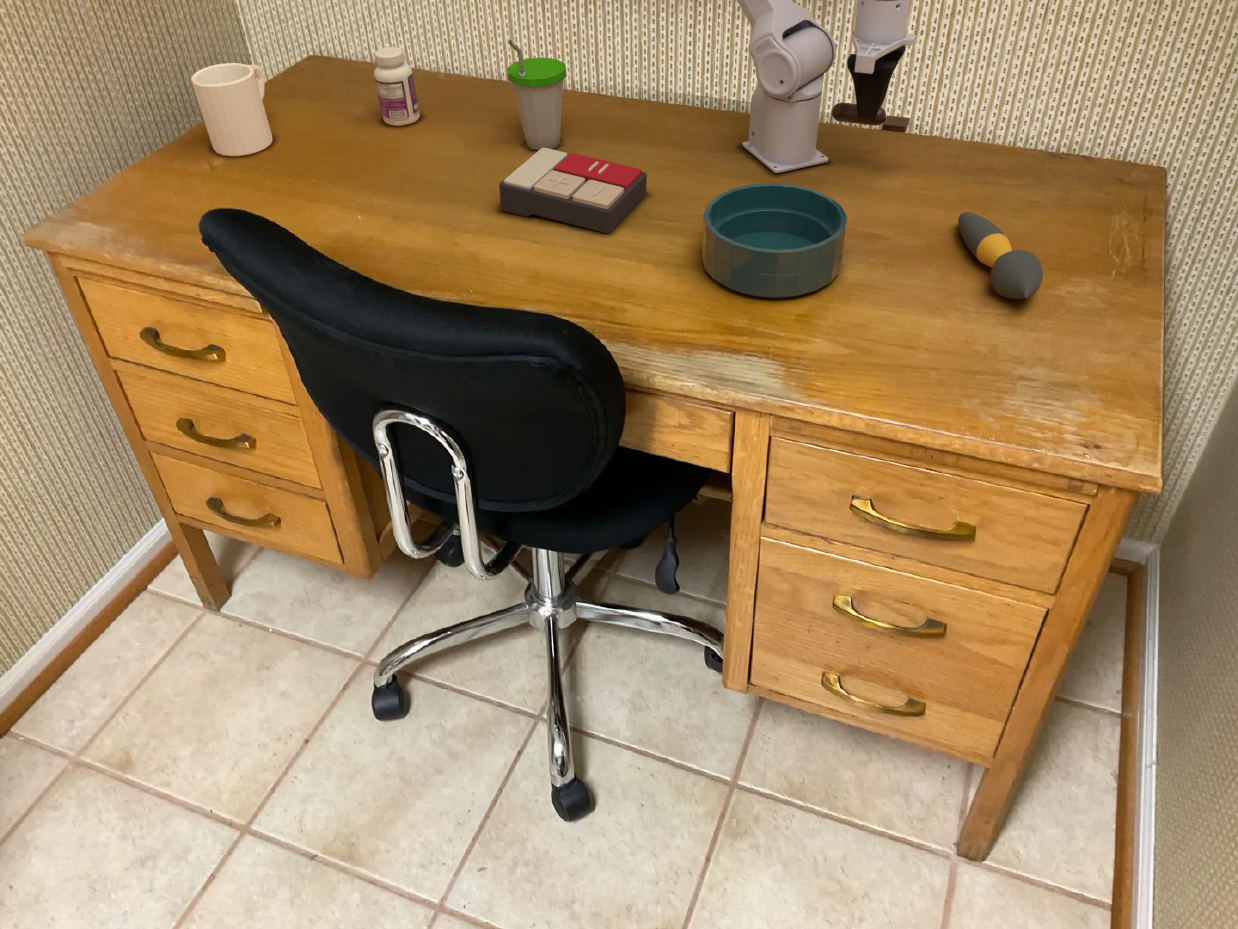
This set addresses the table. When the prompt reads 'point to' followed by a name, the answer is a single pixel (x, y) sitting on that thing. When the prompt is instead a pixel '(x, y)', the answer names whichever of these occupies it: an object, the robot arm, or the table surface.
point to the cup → (538, 98)
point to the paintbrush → (1001, 257)
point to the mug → (233, 107)
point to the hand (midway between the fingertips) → (869, 112)
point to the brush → (849, 114)
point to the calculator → (573, 189)
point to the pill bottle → (395, 87)
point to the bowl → (773, 239)
